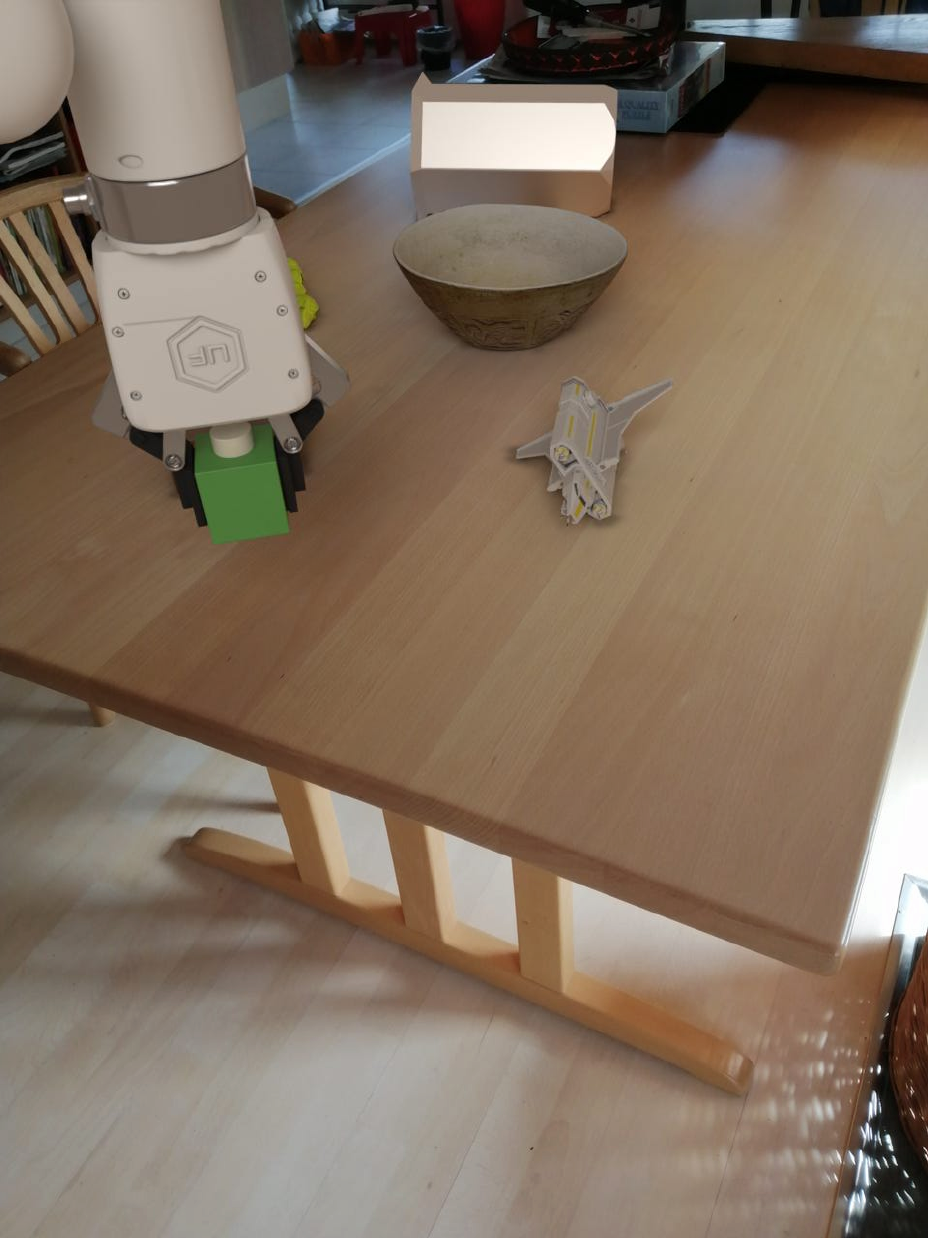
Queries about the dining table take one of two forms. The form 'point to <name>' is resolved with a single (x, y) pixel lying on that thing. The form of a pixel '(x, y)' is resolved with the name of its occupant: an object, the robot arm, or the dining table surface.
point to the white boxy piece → (512, 146)
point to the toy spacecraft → (588, 445)
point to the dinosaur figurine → (302, 295)
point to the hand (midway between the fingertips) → (247, 504)
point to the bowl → (509, 270)
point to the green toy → (240, 482)
